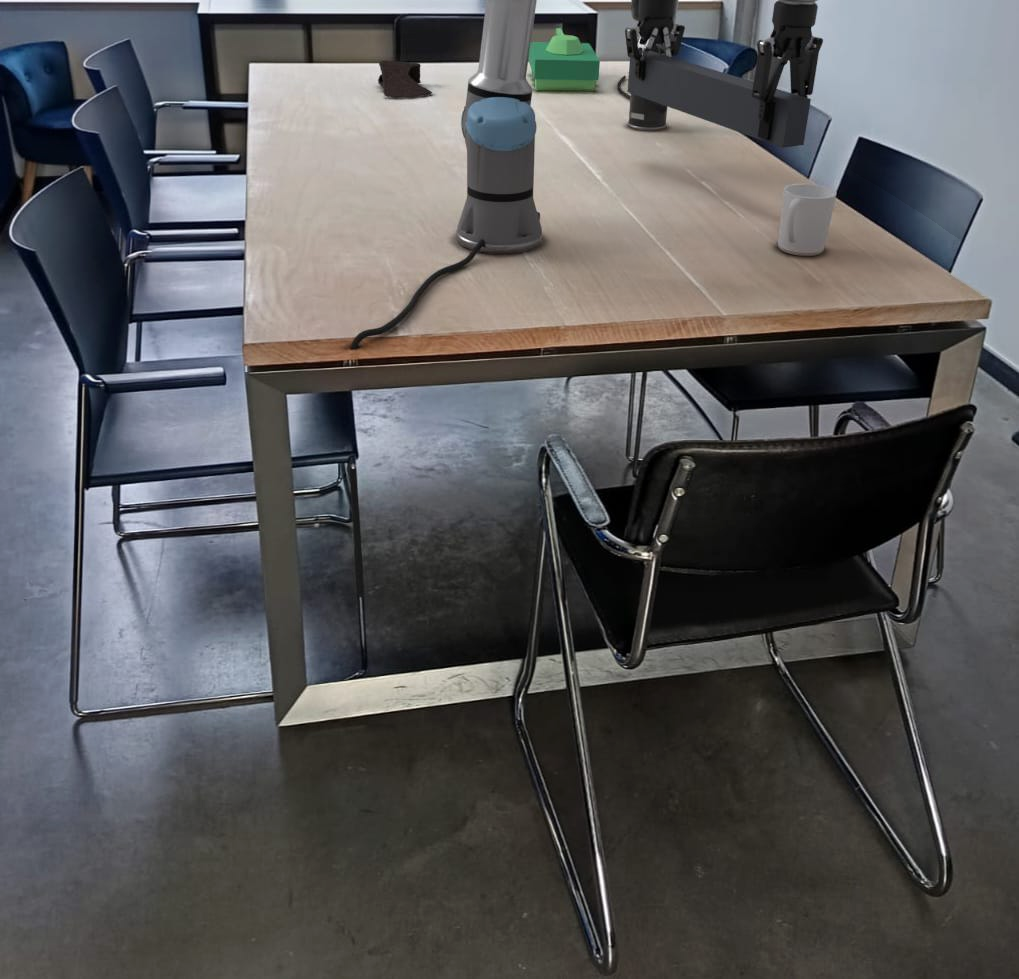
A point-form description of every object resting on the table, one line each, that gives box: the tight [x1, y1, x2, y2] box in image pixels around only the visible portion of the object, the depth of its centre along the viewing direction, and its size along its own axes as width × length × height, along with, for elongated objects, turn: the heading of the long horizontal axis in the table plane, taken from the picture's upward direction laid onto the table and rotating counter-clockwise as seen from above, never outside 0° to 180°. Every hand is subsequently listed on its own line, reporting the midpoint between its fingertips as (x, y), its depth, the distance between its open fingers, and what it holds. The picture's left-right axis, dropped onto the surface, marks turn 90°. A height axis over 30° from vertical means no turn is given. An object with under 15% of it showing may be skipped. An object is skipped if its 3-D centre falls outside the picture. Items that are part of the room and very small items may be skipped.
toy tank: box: [528, 27, 601, 91], centre depth 314 cm, size 18×12×35 cm
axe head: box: [377, 59, 433, 99], centre depth 299 cm, size 18×8×15 cm
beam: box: [626, 51, 812, 149], centre depth 217 cm, size 50×5×8 cm, turn 29°
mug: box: [777, 183, 837, 257], centre depth 191 cm, size 11×9×10 cm
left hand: (775, 136), depth 204 cm, fingers closed on beam, 5 cm apart
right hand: (651, 78), depth 232 cm, fingers closed on beam, 5 cm apart
